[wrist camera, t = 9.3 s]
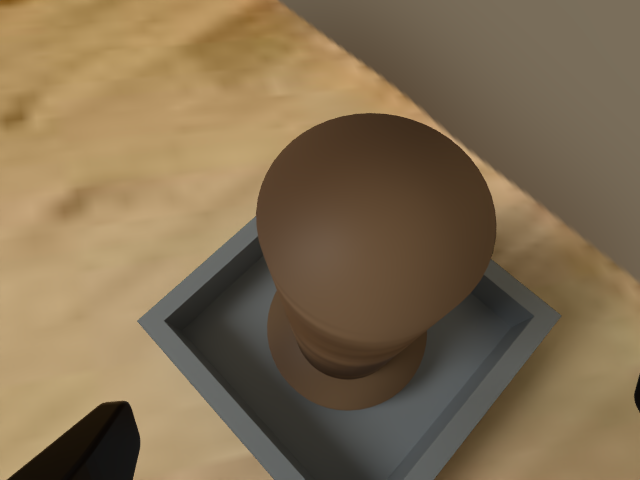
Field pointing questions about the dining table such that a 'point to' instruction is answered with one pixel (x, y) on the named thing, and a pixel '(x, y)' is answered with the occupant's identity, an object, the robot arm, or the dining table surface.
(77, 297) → the dining table surface
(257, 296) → the box
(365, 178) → the handle
